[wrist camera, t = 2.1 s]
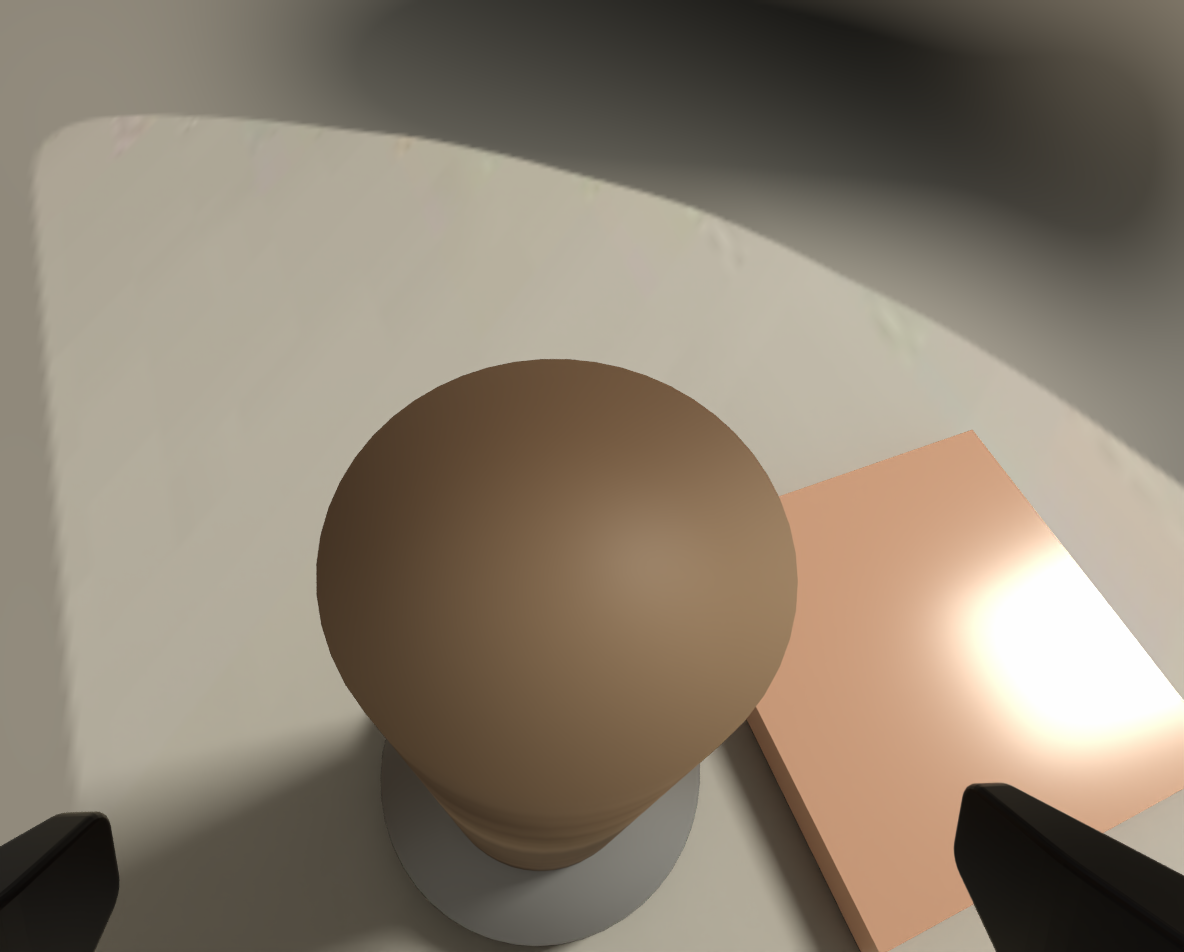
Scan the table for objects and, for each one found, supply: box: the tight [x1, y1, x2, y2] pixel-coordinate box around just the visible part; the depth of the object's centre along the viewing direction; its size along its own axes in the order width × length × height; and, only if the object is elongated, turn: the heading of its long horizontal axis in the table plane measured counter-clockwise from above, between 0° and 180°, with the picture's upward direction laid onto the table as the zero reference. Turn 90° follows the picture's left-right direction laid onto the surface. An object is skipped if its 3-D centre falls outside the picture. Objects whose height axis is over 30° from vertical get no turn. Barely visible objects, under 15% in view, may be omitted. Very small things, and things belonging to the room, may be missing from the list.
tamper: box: [316, 359, 798, 946], centre depth 12 cm, size 7×7×12 cm
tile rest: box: [747, 430, 1184, 952], centre depth 19 cm, size 10×10×1 cm
